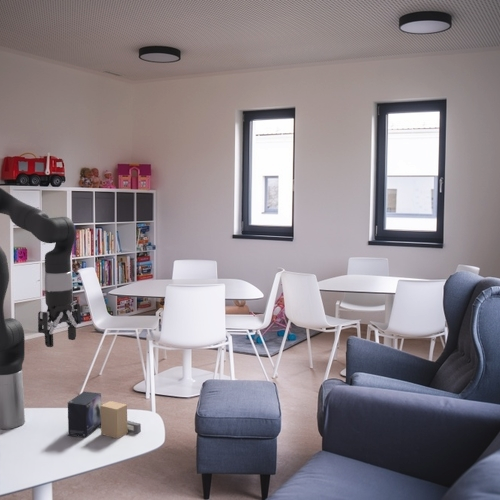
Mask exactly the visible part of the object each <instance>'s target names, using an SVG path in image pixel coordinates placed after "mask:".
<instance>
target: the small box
mask: <svg viewBox="0 0 500 500" xmlns="http://www.w3.org/2000/svg"><path fill="white" fill-rule="evenodd" d="M101 405H102V393H100V392H91V391H82V392H81V393H80V394H78V395H77V396H75V397H74V398H72V399H71V400H70V401H68V402H67V423H68V424H67V427H68V429H67V430H68V431H67V436H72V437H80V438H87V437H89V436H90V435H91V434H92V433H94V431H96V430H97V429H98V428H100V427H101V412H100V406H101Z"/></svg>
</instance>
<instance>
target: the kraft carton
mask: <svg viewBox="0 0 500 500" xmlns="http://www.w3.org/2000/svg"><path fill="white" fill-rule="evenodd" d="M100 412H101V426H100V434H101V435H102V436H107V437H111V438H114V439H120V438H121V437H123V436H125V435H127V434H128V433H129V431H128V428H127V421H128V405H127V404H126V403H121V402H117V401H113V400H109V401H107V402H105V403H103V404H101V406H100Z"/></svg>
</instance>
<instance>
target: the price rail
mask: <svg viewBox="0 0 500 500" xmlns="http://www.w3.org/2000/svg"><path fill="white" fill-rule="evenodd" d="M141 425H142V424H141V423H138V422H134V421H131V420H127V428H128V432H131V433H134V434H135V433H136V434H139V433H141V431H142V430H141V429H142V428H141Z"/></svg>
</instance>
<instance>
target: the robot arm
mask: <svg viewBox="0 0 500 500" xmlns="http://www.w3.org/2000/svg"><path fill="white" fill-rule="evenodd" d="M0 214H3V215H6V216H8V217H9V218H10V221H11V222H12V223H13V224H14V226H16V227H18V228H21V229H22V230H25V231H27V232H29V233H31V234H32V235H33V236H34V237H35V238H36V239H37V240H39V242H41V243H45V244H54V248H53V249H52V250H49V251H47V252H46V253H45V254H44V271H45V272H44V293H45V300H44V301H45V304H46V306H47V309H46V311H38V313H37V331H38V333H41V334H44V344H45V346H46V347H48V348H53V347H54V331H55V328H57V327H58V324H60V325H61V324H63V323H66V325H67V326H68V327H67V338H68V340H70V341H74V340H75V341H76V337H77V327H78V325H79V324H81V323H82V314H81V304H80V303H75V302H74V295H73V276H72V269H71V267H72V265H71V264H72V262H71V255H72V252H73V248H74V243H75V238H76V226H75V224H74V221H72V219H71V217H67V216H59V217H57V216H56V217H49V215H48V214H47V213H46V212H45V211H44V210H41V209H39V208H37V207H34V206H31V205H29V204H27V203H25V202H23V201H21V200H20V199H18V198H16V197H15V196H14V195H12V194H11V193H9V192H8V191H6V190H5V189H3V188H2V187H0ZM8 263H9V262H8V258H7V255H6V253H5V251H4V250H3V248H2V247H1V246H0V429H2V430H6V429H8V430H10V429H14V428H19V427H21V426H22V425H24V424H25V422H26V418H25V417H26V416H25V397H24V377H23V376H24V375H23V364H24V361H25V347H26V344H25V343H26V341H25V339H26V338H25V332H24V331H25V330H24V327H23V325H22V324H21V322H20V321H19V320H18V319H16V318H12V317H10V318H5V314H4V313H5V312H4V311H5V310H4V303H5V298H6V294H7V290H8V286H9V282H10V271H9V265H8Z"/></svg>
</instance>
